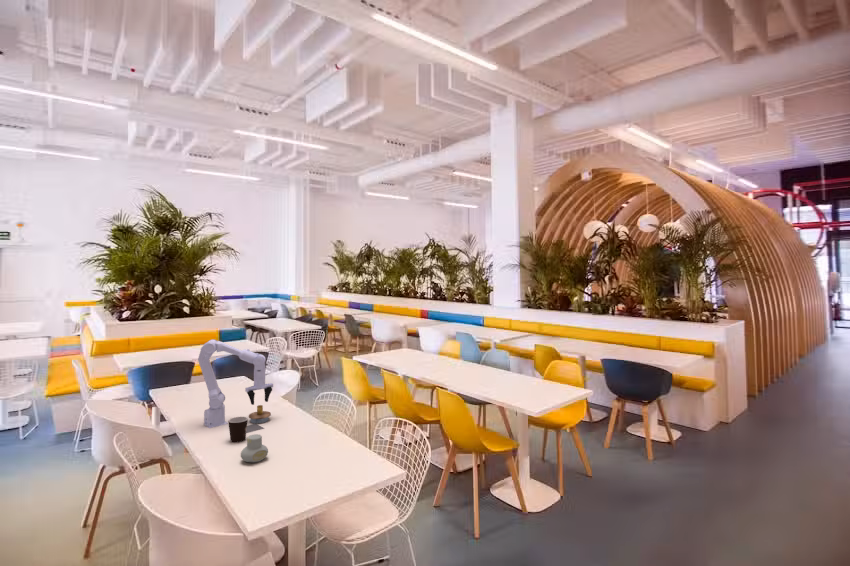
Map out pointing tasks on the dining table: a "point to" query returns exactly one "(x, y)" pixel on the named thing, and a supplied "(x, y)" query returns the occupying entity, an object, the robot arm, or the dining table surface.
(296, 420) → the dining table surface
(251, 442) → the air freshener
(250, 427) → the mat
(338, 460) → the dining table surface
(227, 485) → the dining table surface
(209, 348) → the robot arm
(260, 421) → the bowl
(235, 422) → the coffee mug
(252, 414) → the lid
